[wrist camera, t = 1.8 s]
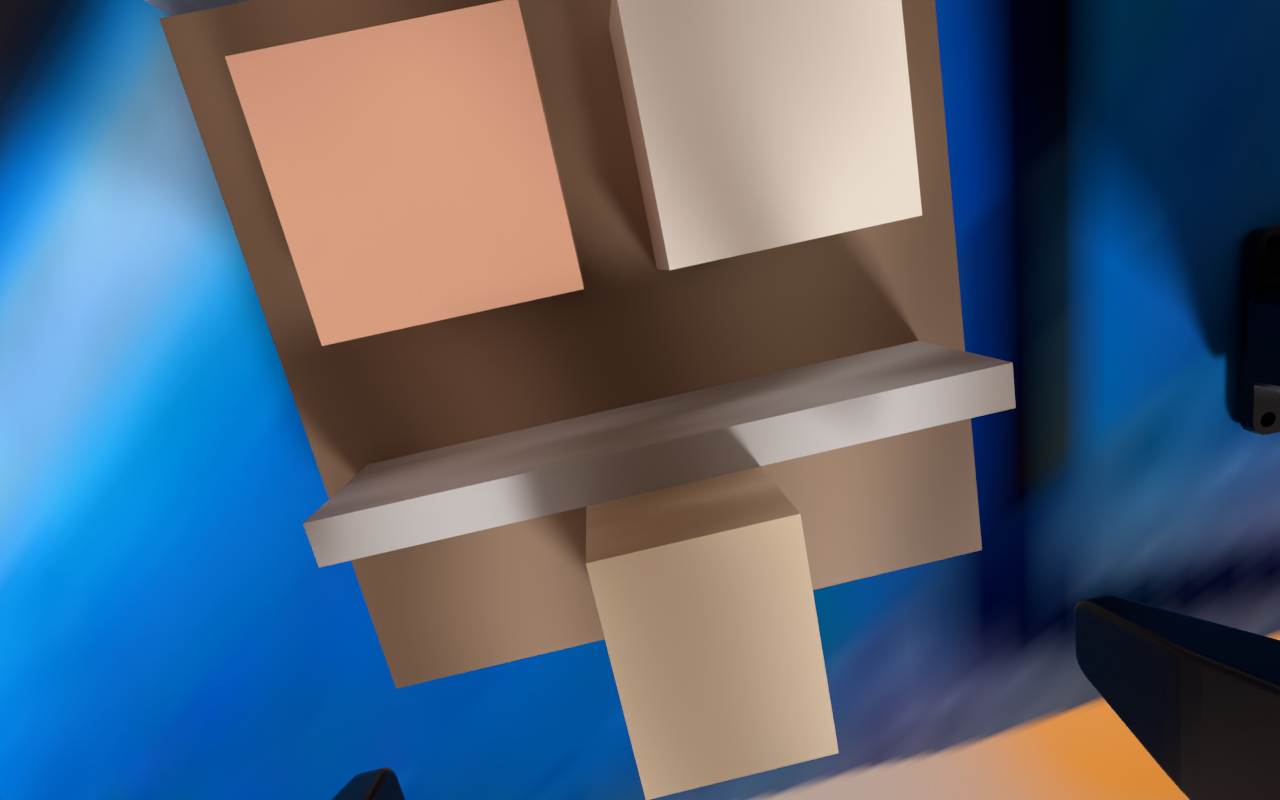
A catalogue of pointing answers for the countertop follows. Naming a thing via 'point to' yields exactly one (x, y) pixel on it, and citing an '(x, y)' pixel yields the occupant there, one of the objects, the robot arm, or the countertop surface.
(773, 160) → the tile cream
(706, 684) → the scraper
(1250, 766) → the robot arm
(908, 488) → the brown square tray
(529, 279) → the tile terracotta
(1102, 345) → the countertop surface
